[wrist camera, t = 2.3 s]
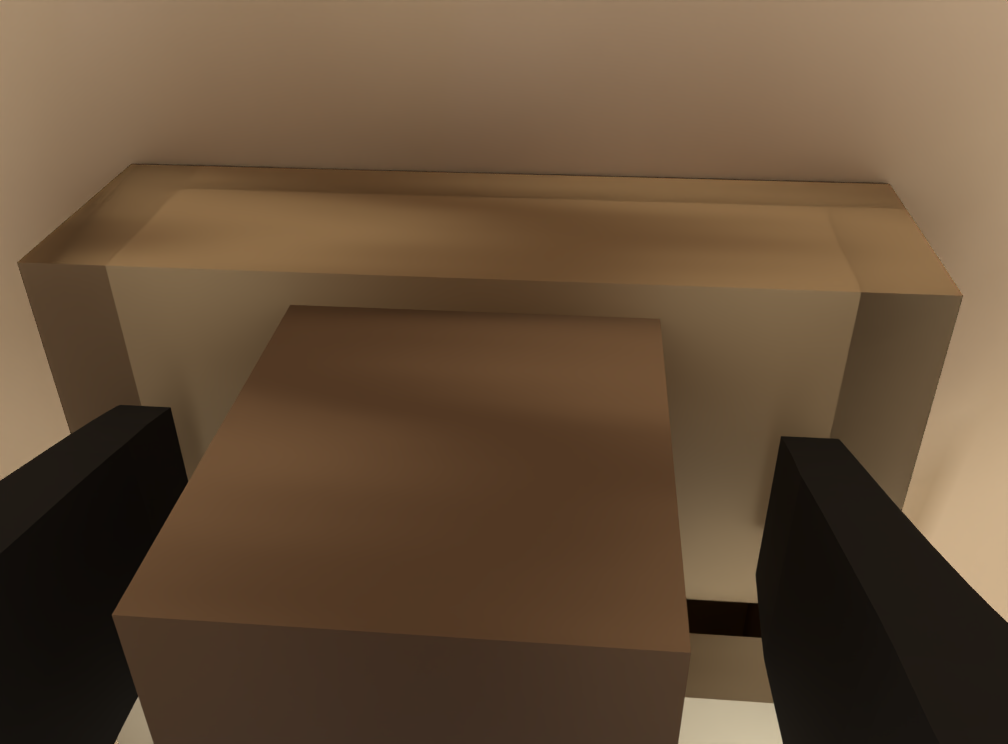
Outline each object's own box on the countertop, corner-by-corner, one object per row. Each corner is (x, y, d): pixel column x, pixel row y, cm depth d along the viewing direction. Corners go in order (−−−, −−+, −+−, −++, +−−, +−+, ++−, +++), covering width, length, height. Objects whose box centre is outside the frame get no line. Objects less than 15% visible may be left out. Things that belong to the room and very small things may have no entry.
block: (329, 572, 13) (210, 919, 9) (290, 305, 10) (111, 614, 7) (634, 590, 12) (647, 959, 9) (659, 319, 10) (690, 653, 6)
